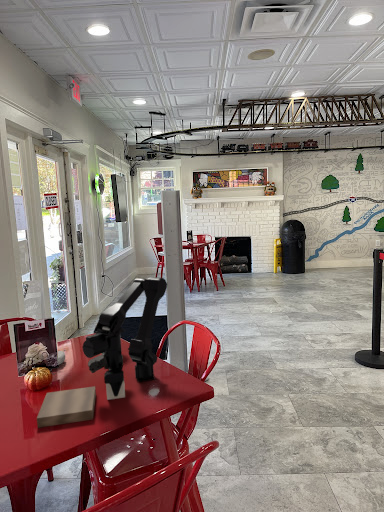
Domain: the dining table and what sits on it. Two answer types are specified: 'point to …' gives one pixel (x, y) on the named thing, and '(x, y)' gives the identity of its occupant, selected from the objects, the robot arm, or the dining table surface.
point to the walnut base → (67, 407)
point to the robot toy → (61, 357)
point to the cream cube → (110, 392)
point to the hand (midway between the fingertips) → (115, 390)
